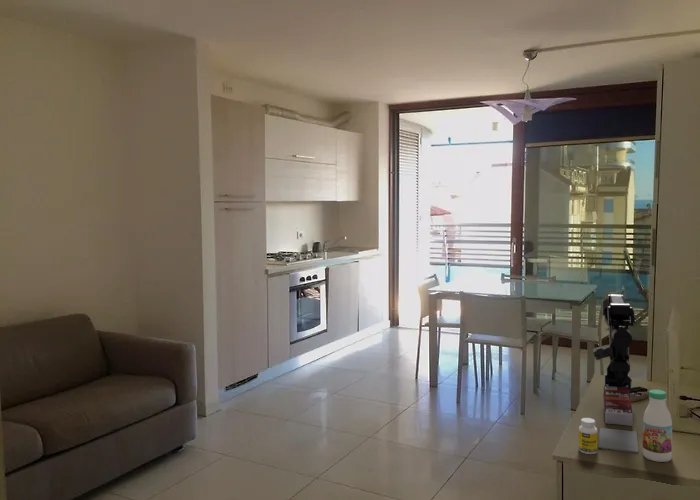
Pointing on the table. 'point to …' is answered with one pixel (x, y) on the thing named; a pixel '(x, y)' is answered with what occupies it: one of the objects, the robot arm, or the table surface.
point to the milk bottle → (657, 428)
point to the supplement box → (617, 405)
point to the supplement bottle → (588, 436)
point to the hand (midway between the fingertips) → (619, 383)
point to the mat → (618, 440)
